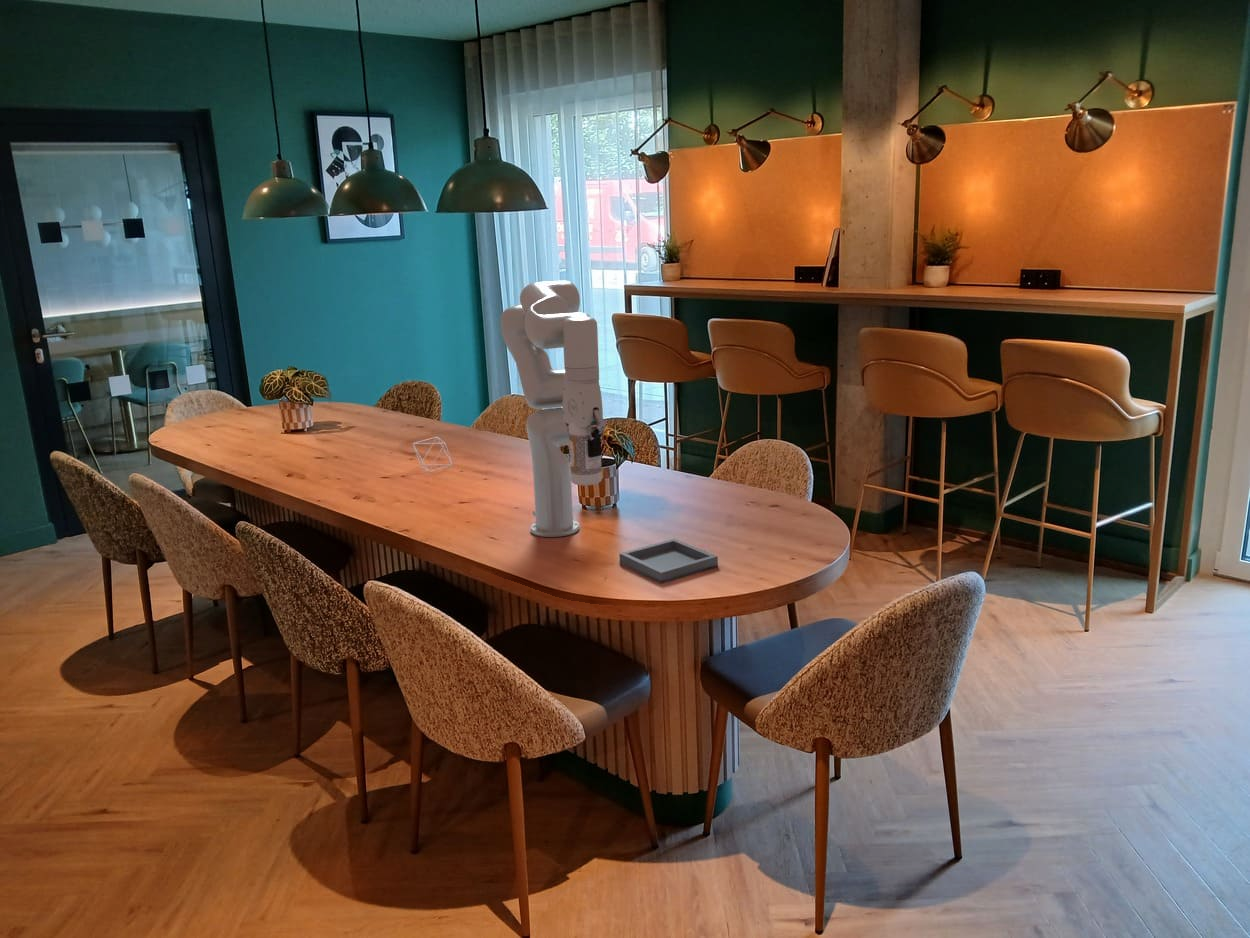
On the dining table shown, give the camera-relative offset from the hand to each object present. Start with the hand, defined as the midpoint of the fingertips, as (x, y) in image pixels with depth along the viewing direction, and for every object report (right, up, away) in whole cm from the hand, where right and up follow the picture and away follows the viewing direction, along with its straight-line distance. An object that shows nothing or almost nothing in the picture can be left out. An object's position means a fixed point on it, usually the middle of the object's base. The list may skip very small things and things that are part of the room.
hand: (585, 452), depth 213 cm
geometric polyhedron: (-54, -3, +100) cm, 114 cm away
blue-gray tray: (+19, -26, +6) cm, 32 cm away
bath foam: (0, -7, +2) cm, 7 cm away
